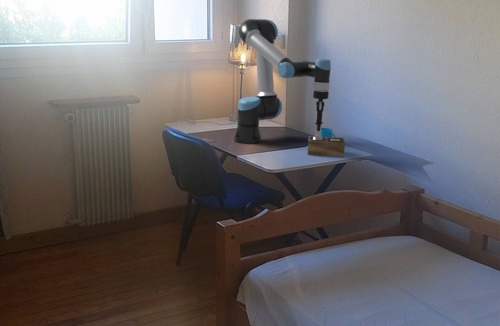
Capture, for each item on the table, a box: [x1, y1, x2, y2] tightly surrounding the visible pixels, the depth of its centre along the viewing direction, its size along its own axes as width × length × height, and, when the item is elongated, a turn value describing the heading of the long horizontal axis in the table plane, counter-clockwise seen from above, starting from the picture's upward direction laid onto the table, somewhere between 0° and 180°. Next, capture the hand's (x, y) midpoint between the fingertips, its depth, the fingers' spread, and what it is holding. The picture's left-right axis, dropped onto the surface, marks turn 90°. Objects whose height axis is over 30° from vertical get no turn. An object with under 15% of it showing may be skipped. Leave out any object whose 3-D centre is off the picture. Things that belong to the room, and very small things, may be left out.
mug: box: [321, 127, 337, 138], centre depth 309 cm, size 12×8×8 cm
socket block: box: [307, 135, 346, 158], centre depth 290 cm, size 12×18×7 cm, turn 84°
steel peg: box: [312, 135, 323, 140], centre depth 291 cm, size 5×5×7 cm
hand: (317, 136), depth 290 cm, fingers closed
